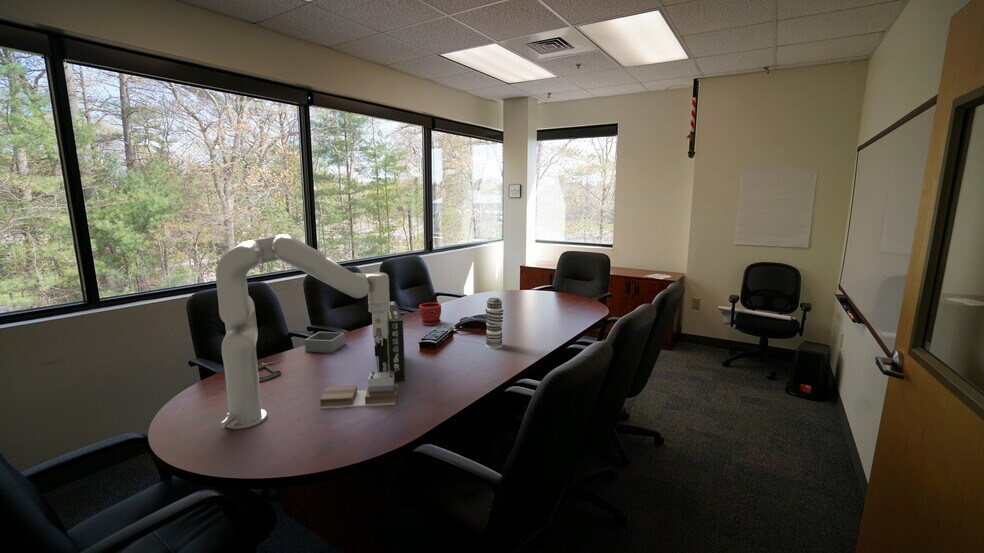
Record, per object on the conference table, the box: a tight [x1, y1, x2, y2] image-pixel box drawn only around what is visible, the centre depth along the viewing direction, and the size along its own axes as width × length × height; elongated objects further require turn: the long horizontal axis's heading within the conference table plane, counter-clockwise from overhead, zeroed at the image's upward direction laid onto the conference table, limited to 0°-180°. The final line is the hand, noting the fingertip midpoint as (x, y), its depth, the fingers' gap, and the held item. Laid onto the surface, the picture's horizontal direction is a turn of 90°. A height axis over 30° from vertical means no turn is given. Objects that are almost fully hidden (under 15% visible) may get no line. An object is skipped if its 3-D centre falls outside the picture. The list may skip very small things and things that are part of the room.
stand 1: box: [319, 385, 358, 407], centre depth 165 cm, size 11×11×3 cm
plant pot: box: [418, 302, 442, 327], centre depth 269 cm, size 13×13×12 cm
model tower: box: [484, 297, 504, 350], centre depth 227 cm, size 9×9×25 cm
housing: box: [367, 371, 396, 394], centre depth 166 cm, size 6×9×7 cm, turn 98°
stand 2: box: [365, 383, 399, 404], centre depth 167 cm, size 11×11×3 cm
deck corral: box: [304, 331, 346, 354], centre depth 223 cm, size 14×14×6 cm
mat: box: [320, 390, 397, 410], centre depth 166 cm, size 26×13×1 cm, turn 98°
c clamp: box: [258, 360, 282, 383], centre depth 191 cm, size 20×17×3 cm
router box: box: [373, 300, 406, 383], centre depth 195 cm, size 36×11×27 cm, turn 17°
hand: (380, 351), depth 164 cm, fingers open, 9 cm apart
